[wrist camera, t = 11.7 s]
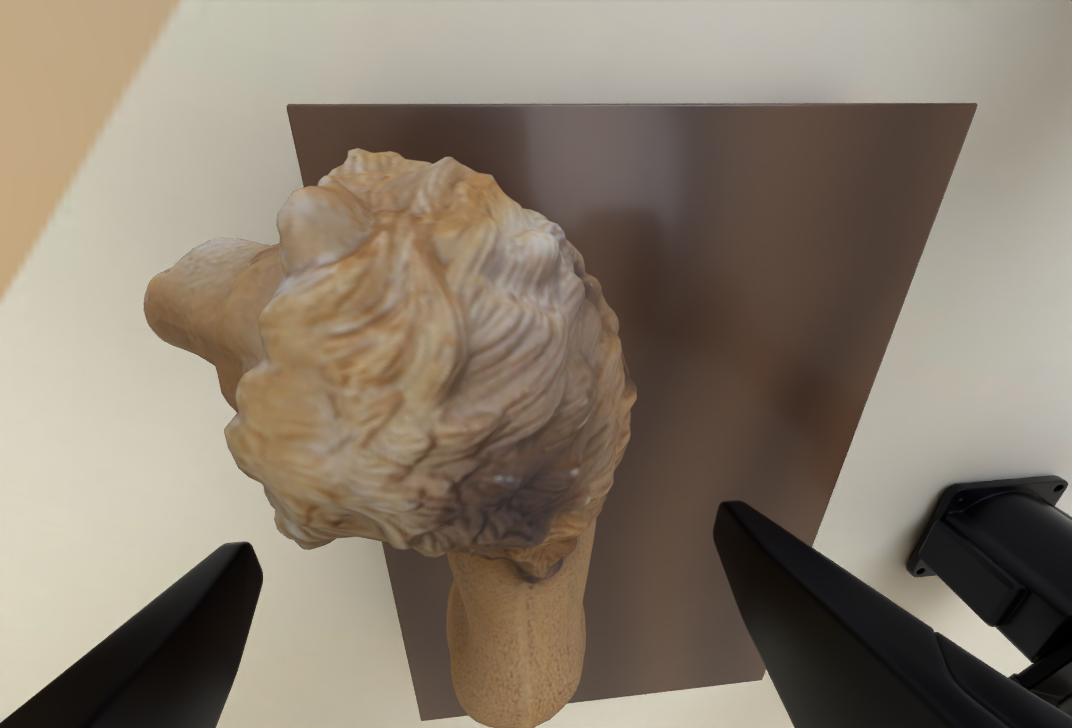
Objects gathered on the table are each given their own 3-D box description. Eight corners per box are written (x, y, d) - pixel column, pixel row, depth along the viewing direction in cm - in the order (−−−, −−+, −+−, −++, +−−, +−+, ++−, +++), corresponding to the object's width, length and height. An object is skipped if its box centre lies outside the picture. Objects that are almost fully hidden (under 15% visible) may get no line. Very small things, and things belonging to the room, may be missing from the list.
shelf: (848, 109, 15) (979, 103, 11) (719, 596, 26) (762, 680, 22) (341, 110, 14) (284, 103, 10) (430, 625, 25) (420, 721, 21)
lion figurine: (308, 161, 10) (-308, 287, 2) (544, 110, 10) (762, 55, 2) (474, 588, 17) (467, 994, 9) (615, 557, 17) (732, 934, 9)
